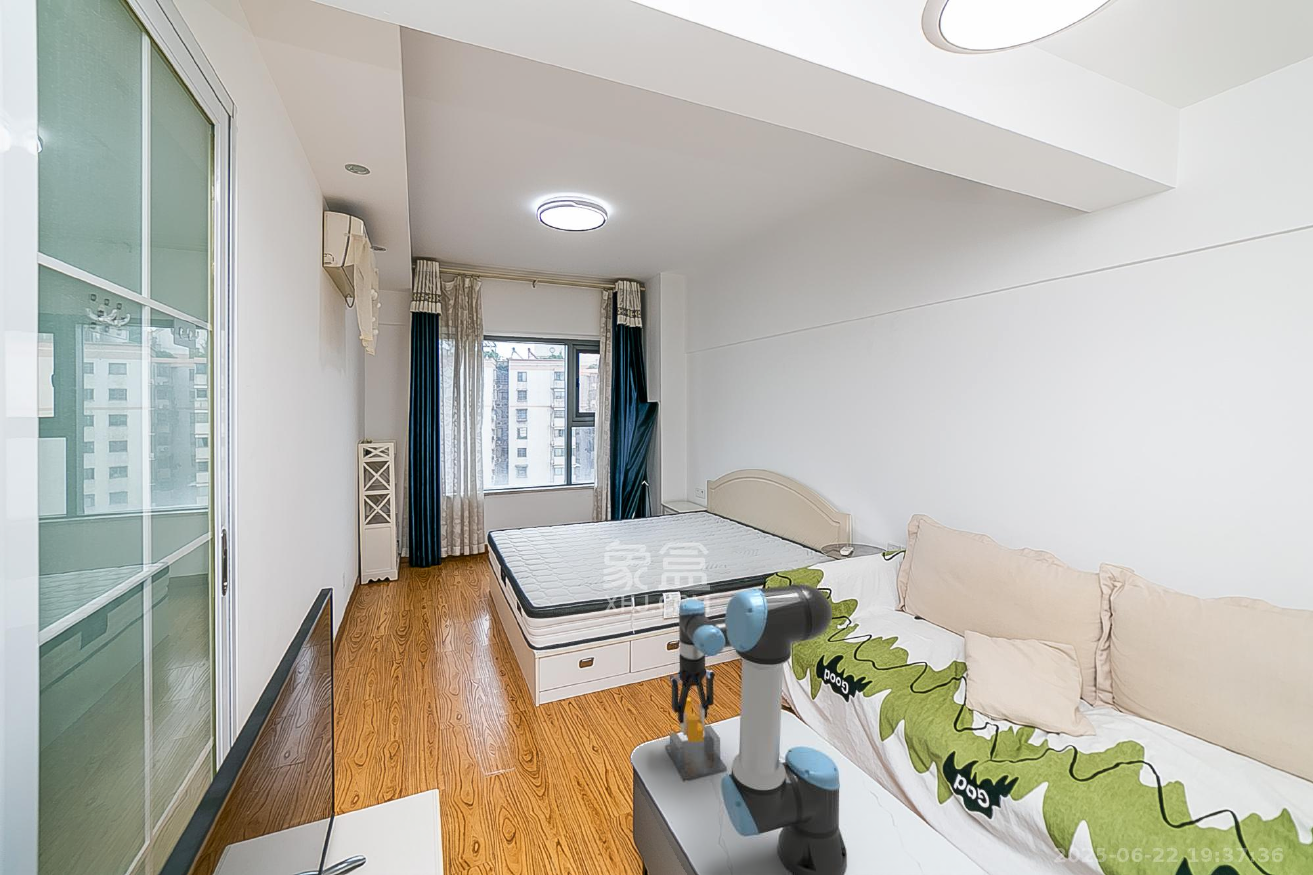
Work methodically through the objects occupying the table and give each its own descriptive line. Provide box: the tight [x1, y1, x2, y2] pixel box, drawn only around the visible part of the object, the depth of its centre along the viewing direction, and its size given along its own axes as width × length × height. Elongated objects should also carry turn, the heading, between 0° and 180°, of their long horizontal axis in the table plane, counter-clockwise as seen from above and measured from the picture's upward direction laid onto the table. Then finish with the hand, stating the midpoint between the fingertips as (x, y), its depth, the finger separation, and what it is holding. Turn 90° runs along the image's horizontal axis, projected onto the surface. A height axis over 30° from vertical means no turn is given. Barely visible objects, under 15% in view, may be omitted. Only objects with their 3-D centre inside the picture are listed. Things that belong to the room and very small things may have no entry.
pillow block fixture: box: [664, 724, 728, 782], centre depth 160 cm, size 16×13×7 cm
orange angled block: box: [685, 697, 704, 742], centre depth 162 cm, size 12×4×6 cm, turn 7°
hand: (692, 730), depth 161 cm, fingers closed on orange angled block, 5 cm apart
